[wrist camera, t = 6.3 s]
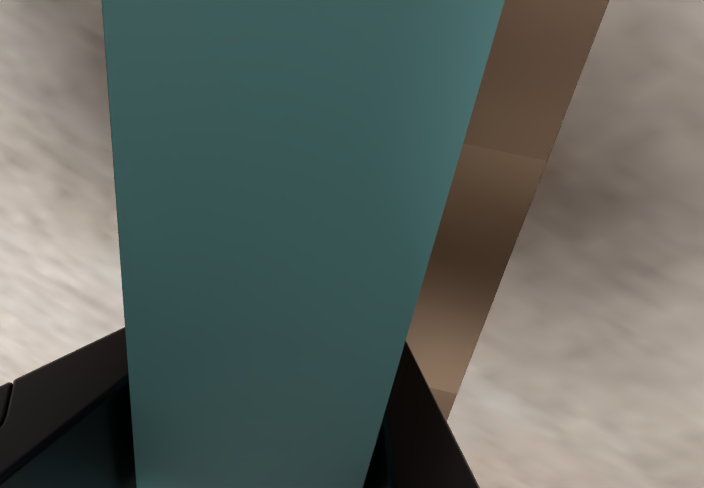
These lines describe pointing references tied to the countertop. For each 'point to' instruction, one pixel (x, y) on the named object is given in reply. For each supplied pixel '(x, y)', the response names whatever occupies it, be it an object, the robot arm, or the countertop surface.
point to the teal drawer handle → (278, 221)
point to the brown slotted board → (497, 178)
